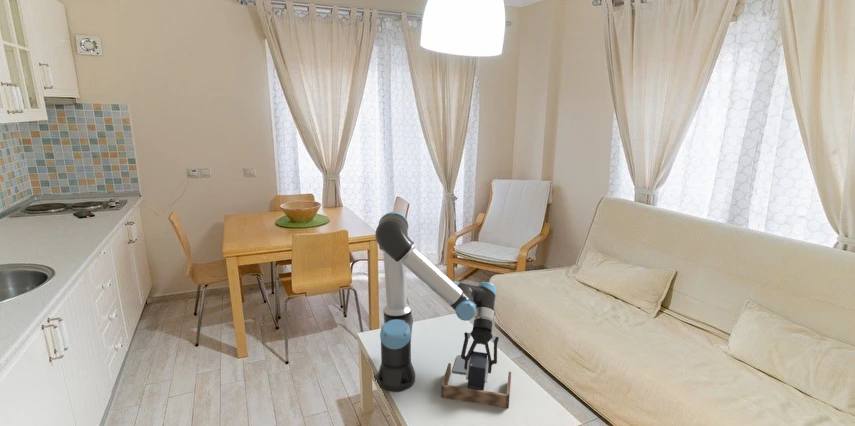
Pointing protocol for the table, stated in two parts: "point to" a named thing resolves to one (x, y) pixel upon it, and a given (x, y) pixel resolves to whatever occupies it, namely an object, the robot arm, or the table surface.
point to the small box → (477, 370)
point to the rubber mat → (460, 365)
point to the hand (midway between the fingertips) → (476, 380)
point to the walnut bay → (474, 393)
